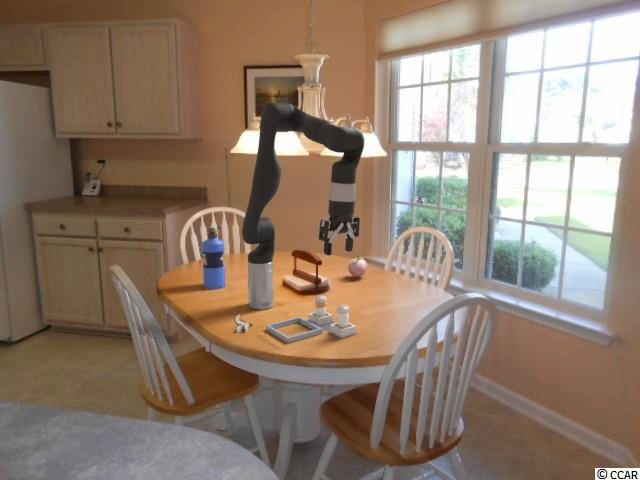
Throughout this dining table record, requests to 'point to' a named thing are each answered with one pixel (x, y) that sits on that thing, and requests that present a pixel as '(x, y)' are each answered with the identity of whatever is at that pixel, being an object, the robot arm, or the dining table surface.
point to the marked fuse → (320, 306)
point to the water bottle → (213, 261)
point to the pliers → (242, 324)
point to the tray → (315, 331)
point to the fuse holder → (332, 326)
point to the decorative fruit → (357, 267)
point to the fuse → (343, 316)
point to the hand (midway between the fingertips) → (338, 253)
